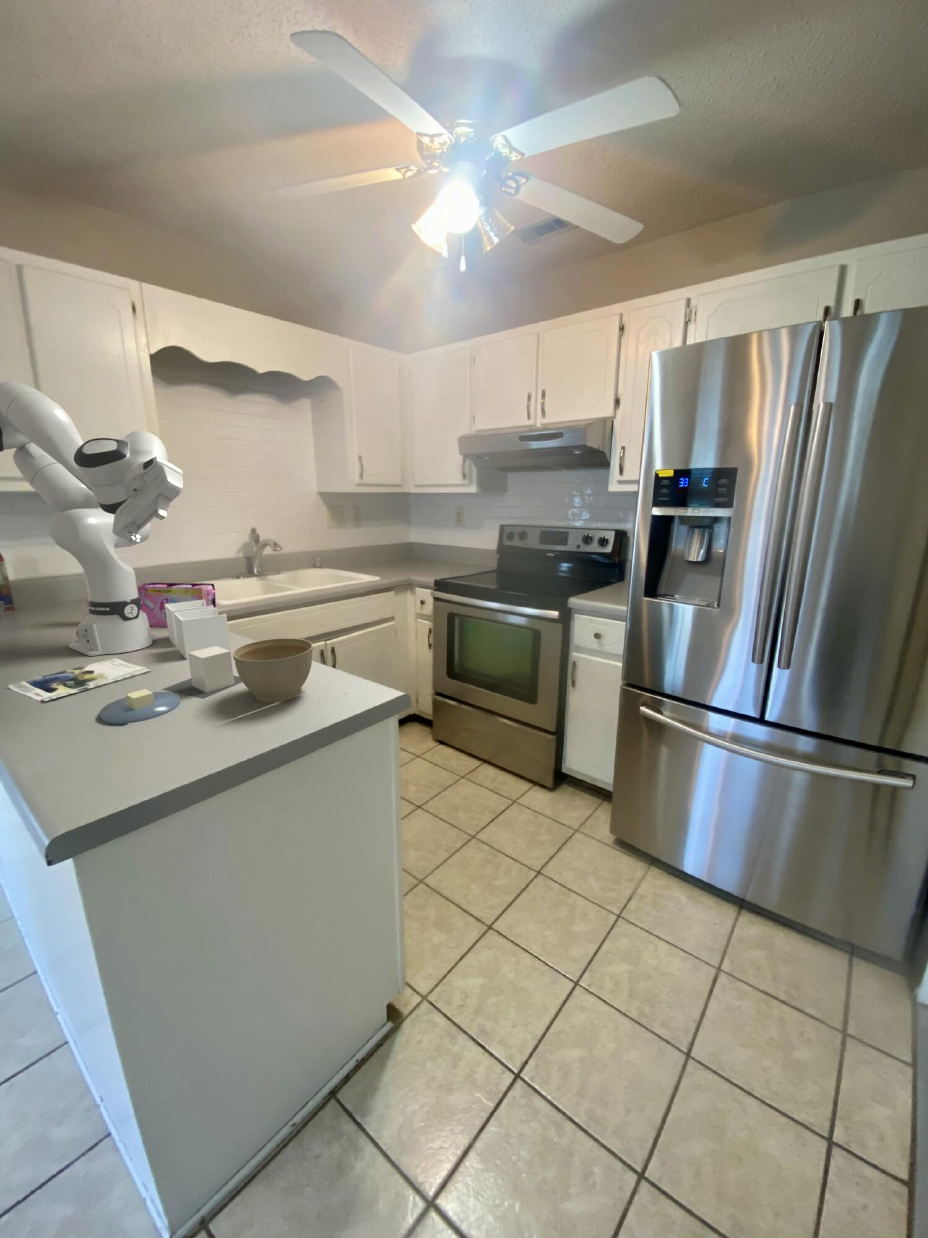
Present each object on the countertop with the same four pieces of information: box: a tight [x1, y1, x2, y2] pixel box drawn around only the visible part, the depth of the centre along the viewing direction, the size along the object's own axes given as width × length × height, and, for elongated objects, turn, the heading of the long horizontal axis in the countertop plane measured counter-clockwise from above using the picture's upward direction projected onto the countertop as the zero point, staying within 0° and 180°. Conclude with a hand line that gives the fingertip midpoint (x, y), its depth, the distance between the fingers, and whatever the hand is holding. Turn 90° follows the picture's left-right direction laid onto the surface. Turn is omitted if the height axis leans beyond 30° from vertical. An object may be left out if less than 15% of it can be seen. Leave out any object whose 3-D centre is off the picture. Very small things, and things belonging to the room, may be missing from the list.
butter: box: [125, 688, 155, 710], centre depth 104 cm, size 4×4×2 cm
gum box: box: [137, 581, 218, 628], centre depth 169 cm, size 24×8×14 cm, turn 85°
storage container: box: [164, 600, 231, 661], centre depth 146 cm, size 25×11×11 cm, turn 39°
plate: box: [99, 691, 182, 726], centre depth 104 cm, size 14×14×1 cm
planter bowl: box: [232, 637, 314, 703], centre depth 110 cm, size 16×16×11 cm
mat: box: [161, 675, 243, 700], centre depth 117 cm, size 13×13×1 cm
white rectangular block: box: [188, 646, 234, 693], centre depth 115 cm, size 6×6×8 cm
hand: (147, 529), depth 109 cm, fingers open, 8 cm apart
